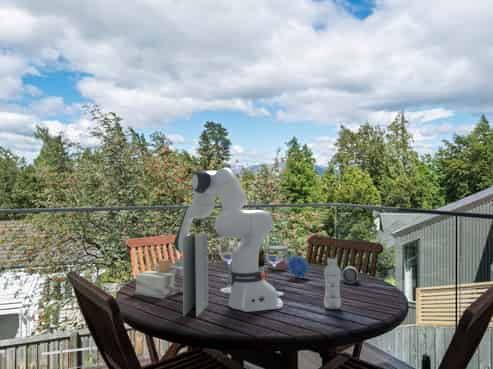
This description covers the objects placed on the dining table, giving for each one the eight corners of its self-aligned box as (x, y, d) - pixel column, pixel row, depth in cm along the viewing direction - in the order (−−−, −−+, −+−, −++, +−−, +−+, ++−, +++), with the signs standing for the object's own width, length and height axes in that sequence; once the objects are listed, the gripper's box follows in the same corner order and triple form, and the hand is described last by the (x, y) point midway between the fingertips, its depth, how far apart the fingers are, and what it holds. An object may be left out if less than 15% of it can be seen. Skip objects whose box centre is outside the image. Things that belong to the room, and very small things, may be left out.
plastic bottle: (322, 306, 164) (322, 257, 164) (339, 306, 164) (339, 256, 164) (325, 311, 158) (324, 260, 157) (342, 311, 157) (342, 260, 157)
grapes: (287, 279, 208) (286, 256, 208) (286, 276, 215) (286, 254, 215) (309, 280, 207) (309, 256, 207) (308, 276, 214) (308, 254, 214)
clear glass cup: (283, 270, 231) (283, 249, 231) (265, 268, 236) (265, 247, 236) (290, 266, 241) (290, 246, 241) (272, 264, 246) (272, 245, 246)
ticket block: (167, 282, 205) (167, 264, 205) (194, 286, 196) (194, 268, 196) (134, 293, 186) (134, 274, 185) (162, 298, 177) (162, 278, 177)
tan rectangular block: (164, 286, 193) (163, 258, 193) (170, 287, 191) (170, 259, 191) (159, 287, 190) (158, 260, 190) (165, 288, 188) (165, 261, 188)
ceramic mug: (358, 279, 207) (357, 264, 207) (358, 283, 199) (357, 268, 199) (336, 279, 209) (336, 264, 209) (336, 283, 201) (335, 267, 201)
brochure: (197, 316, 153) (196, 237, 152) (183, 316, 154) (182, 237, 153) (208, 305, 167) (207, 232, 166) (195, 304, 168) (194, 232, 167)
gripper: (166, 258, 207) (147, 263, 195) (198, 262, 197) (180, 268, 185) (166, 271, 207) (147, 276, 195) (198, 275, 197) (180, 281, 185)
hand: (163, 272), depth 190 cm, fingers closed on tan rectangular block, 4 cm apart
